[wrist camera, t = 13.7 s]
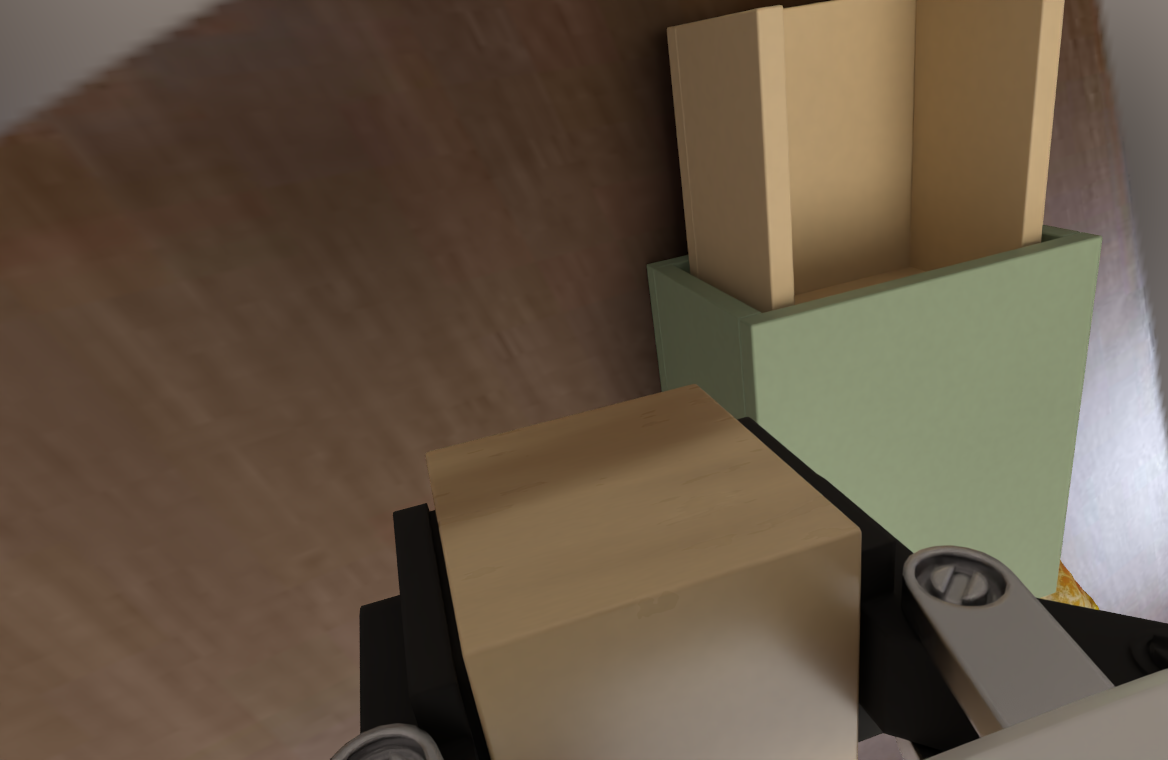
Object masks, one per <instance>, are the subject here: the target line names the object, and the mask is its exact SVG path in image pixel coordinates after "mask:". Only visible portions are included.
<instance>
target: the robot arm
mask: <svg viewBox="0 0 1168 760" xmlns="http://www.w3.org/2000/svg"><path fill="white" fill-rule="evenodd" d="M737 420H738V421H739V422H740V423H741V424H742V425H743V426H744V427H746V428H747V429H748V430H749V431H750V432H751V433H752V434H754V435H755V436H756V437H757V438H758V439H759V440H760V441H762V442H763V443H764V444H765V445H766V446H767V447H768V448H769V449H771V450H772V451H773V452H774V453H775V454H776V455H777V456H779V457H780V458H781V459H782V460H783V461H784V462H785V463H787V464H788V465H789V466H790V467H791V468H792V469H793V470H794V471H796V472H797V473H798V474H799V475H800V476H801V477H802V478H804V479H805V480H806V481H807V482H808V483H809V484H810V485H811V486H813V487H814V488H815V489H816V490H817V491H818V492H819V493H821V494H822V495H823V496H824V497H825V498H826V499H827V500H829V501H830V502H831V503H832V504H833V505H834V506H835V507H836V508H838V509H839V510H840V511H841V512H842V513H843V514H844V515H846V516H847V517H848V518H849V519H850V520H851V521H852V522H853V523H855V524H856V525H857V526H858V527H859V528H860V530H861V532H862V539H861V596H860V653H859V710H858V742H860V741H863V740H866V739H868V738H871V737H874V736H876V735H879V734H882V733H885V734H888V735H892V736H895V739H896V742H897V745H898V748H899V751H900V753H901V755H902V757H903V759H904V760H1168V624H1167V623H1162V622H1157V621H1152V620H1147V619H1142V618H1137V617H1132V616H1126V615H1121V614H1116V613H1111V612H1106V611H1101V610H1096V609H1091V608H1086V607H1081V606H1076V605H1071V604H1066V603H1061V602H1056V601H1051V600H1046V599H1041V598H1036V597H1035V596H1034V595H1033V594H1032V593H1031V592H1030V591H1029V589H1028V588H1027V587H1026V586H1025V585H1024V584H1023V583H1022V582H1021V580H1020V579H1019V578H1018V577H1017V576H1016V575H1015V574H1014V573H1013V572H1012V570H1010V569H1009V568H1008V567H1007V566H1006V565H1005V564H1003V563H1002V562H1001V561H1000V560H998V559H996V558H994V557H992V556H990V555H988V554H986V553H984V552H981V551H977V550H974V549H971V548H967V547H960V546H953V545H944V546H932V547H928V548H924V549H920V550H919V551H917V552H915V553H913V552H912V551H911V550H909V549H908V548H907V547H906V546H905V545H903V544H902V543H901V542H900V541H899V540H898V539H896V538H895V537H894V536H893V535H892V534H890V533H889V532H888V531H887V530H886V529H884V528H883V527H882V526H881V525H880V524H879V523H877V522H876V521H875V520H874V519H873V518H871V517H870V516H869V515H868V514H867V513H865V512H864V511H863V510H862V509H861V508H860V507H858V506H857V505H856V504H855V503H854V502H852V501H851V500H850V499H849V498H848V497H846V496H845V495H844V494H843V493H842V492H841V491H839V490H838V489H837V488H836V487H835V486H833V485H832V484H831V483H830V482H829V481H827V480H826V479H825V478H823V477H822V476H820V475H818V474H817V473H815V472H814V471H813V470H812V469H811V468H810V467H808V466H807V465H806V464H805V463H804V462H802V461H801V460H800V459H799V458H798V457H797V456H795V455H794V454H793V453H792V452H791V451H789V450H788V449H787V448H786V447H785V446H784V445H782V444H781V443H780V442H779V441H778V440H776V439H775V438H774V437H773V436H772V435H771V434H769V433H768V432H767V431H766V430H765V429H763V428H762V427H761V426H760V425H759V424H758V423H756V422H755V421H754V420H753V419H752V418H750V417H744V418H740V419H737ZM393 519H394V531H395V543H396V554H397V566H398V577H399V589H400V595H398V596H394V597H391V598H388V599H384V600H381V601H377V602H374V603H371V604H367V605H364V606H361V608H360V735H358V736H357V737H355V738H354V739H352V740H351V741H349V742H347V743H346V744H345V745H344V746H343V747H342V748H341V749H340V750H339V751H338V752H337V753H336V754H335V755H334V756H333V757H332V758H331V759H330V760H491V759H490V755H489V751H488V748H487V744H486V740H485V737H484V733H483V729H482V725H481V722H480V718H479V714H478V711H477V707H476V703H475V700H474V696H473V692H472V689H471V685H470V681H469V678H468V674H467V670H466V667H465V663H464V659H463V656H462V650H461V645H460V640H459V634H458V629H457V624H456V618H455V613H454V607H453V602H452V597H451V591H450V586H449V581H448V575H447V570H446V565H445V559H444V554H443V548H442V543H441V538H440V532H439V527H438V522H437V516H436V511H435V510H433V511H429V508H428V505H427V503H425V504H421V505H418V506H414V507H410V508H407V509H403V510H399V511H395V512H393Z"/></svg>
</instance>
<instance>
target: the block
mask: <svg viewBox="0 0 1168 760" xmlns="http://www.w3.org/2000/svg"><path fill="white" fill-rule="evenodd" d="M425 457H426V463H427V468H428V473H429V479H430V484H431V489H432V495H433V500H434V506H435V511H436V516H437V522H438V527H439V532H440V538H441V543H442V548H443V554H444V559H445V565H446V570H447V575H448V581H449V586H450V591H451V597H452V602H453V607H454V613H455V618H456V624H457V629H458V634H459V640H460V645H461V650H462V656H463V659H464V663H465V667H466V670H467V674H468V678H469V681H470V685H471V689H472V692H473V696H474V700H475V703H476V707H477V711H478V714H479V718H480V722H481V725H482V729H483V733H484V737H485V740H486V744H487V748H488V751H489V755H490V759H491V760H858V710H859V653H860V596H861V539H862V532H861V530H860V528H859V527H858V526H857V525H856V524H855V523H853V522H852V521H851V520H850V519H849V518H848V517H847V516H846V515H844V514H843V513H842V512H841V511H840V510H839V509H838V508H836V507H835V506H834V505H833V504H832V503H831V502H830V501H829V500H827V499H826V498H825V497H824V496H823V495H822V494H821V493H819V492H818V491H817V490H816V489H815V488H814V487H813V486H811V485H810V484H809V483H808V482H807V481H806V480H805V479H804V478H802V477H801V476H800V475H799V474H798V473H797V472H796V471H794V470H793V469H792V468H791V467H790V466H789V465H788V464H787V463H785V462H784V461H783V460H782V459H781V458H780V457H779V456H777V455H776V454H775V453H774V452H773V451H772V450H771V449H769V448H768V447H767V446H766V445H765V444H764V443H763V442H762V441H760V440H759V439H758V438H757V437H756V436H755V435H754V434H752V433H751V432H750V431H749V430H748V429H747V428H746V427H744V426H743V425H742V424H741V423H740V422H739V421H738V420H737V419H735V418H734V417H733V416H732V415H731V414H730V413H729V412H727V411H726V410H725V409H724V408H723V407H722V406H721V405H720V404H718V403H717V402H716V401H715V400H714V399H713V398H712V397H710V396H709V395H708V394H707V393H706V392H705V391H704V390H702V389H701V388H700V387H699V386H698V385H697V384H691V385H687V386H683V387H680V388H676V389H672V390H668V391H664V392H660V393H656V394H652V395H648V396H644V397H640V398H637V399H633V400H629V401H625V402H621V403H617V404H613V405H609V406H605V407H601V408H598V409H594V410H590V411H586V412H582V413H578V414H574V415H570V416H566V417H562V418H558V419H555V420H551V421H547V422H543V423H539V424H535V425H531V426H527V427H523V428H519V429H516V430H512V431H508V432H504V433H500V434H496V435H492V436H488V437H484V438H480V439H476V440H473V441H469V442H465V443H461V444H457V445H453V446H449V447H445V448H441V449H437V450H433V451H430V452H427V453H426V455H425Z"/></svg>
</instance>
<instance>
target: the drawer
mask: <svg viewBox="0 0 1168 760" xmlns="http://www.w3.org/2000/svg"><path fill="white" fill-rule="evenodd" d="M1064 1H1065V0H832V1H825V2H819V3H813V4H807V5H801V6H795V7H788V8H783V6H782V5H776V6H770V7H763V8H757V9H753V10H748V11H743V12H739V13H734V14H729V15H724V16H720V17H715V18H710V19H706V20H701V21H696V22H691V23H687V24H682V25H678V26H673V27H668V28H667V38H668V48H669V59H670V69H671V79H672V89H673V100H674V110H675V120H676V131H677V141H678V151H679V162H680V172H681V182H682V192H683V203H684V213H685V223H686V234H687V244H688V254H689V265H690V274H691V275H693V276H695V277H696V278H698V279H700V280H702V281H704V282H706V283H708V284H709V285H711V286H713V287H715V288H717V289H719V290H721V291H722V292H724V293H726V294H728V295H730V296H732V297H734V298H735V299H737V300H739V301H741V302H743V303H745V304H747V305H748V306H750V307H752V308H754V309H756V310H758V311H760V312H761V313H765V312H769V311H773V310H777V309H781V308H785V307H789V306H793V305H797V304H801V303H805V302H809V301H812V300H816V299H820V298H824V297H828V296H832V295H836V294H840V293H844V292H848V291H852V290H856V289H860V288H864V287H868V286H872V285H876V284H880V283H884V282H888V281H892V280H896V279H900V278H903V277H907V276H911V275H915V274H919V273H923V272H927V271H931V270H935V269H939V268H943V267H947V266H951V265H955V264H959V263H963V262H967V261H971V260H975V259H979V258H983V257H987V256H990V255H994V254H998V253H1002V252H1006V251H1010V250H1014V249H1018V248H1022V247H1026V246H1030V245H1034V244H1038V243H1041V237H1042V226H1043V216H1044V206H1045V196H1046V185H1047V175H1048V165H1049V155H1050V144H1051V134H1052V124H1053V114H1054V103H1055V93H1056V83H1057V73H1058V63H1059V52H1060V42H1061V32H1062V22H1063V11H1064Z"/></svg>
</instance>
